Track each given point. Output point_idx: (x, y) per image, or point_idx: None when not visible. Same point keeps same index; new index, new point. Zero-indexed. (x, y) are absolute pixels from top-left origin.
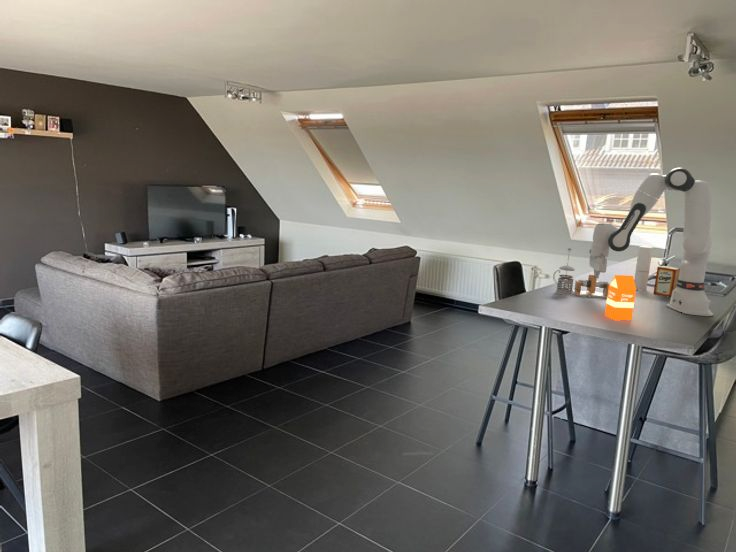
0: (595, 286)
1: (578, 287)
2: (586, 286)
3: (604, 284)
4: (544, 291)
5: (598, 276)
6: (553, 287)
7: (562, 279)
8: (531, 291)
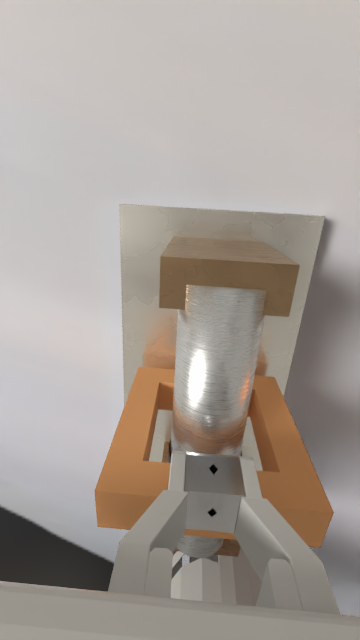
0: (292, 421)
1: None
2: None
3: (260, 333)
4: None
5: (258, 481)
6: (49, 515)
7: None
8: None
